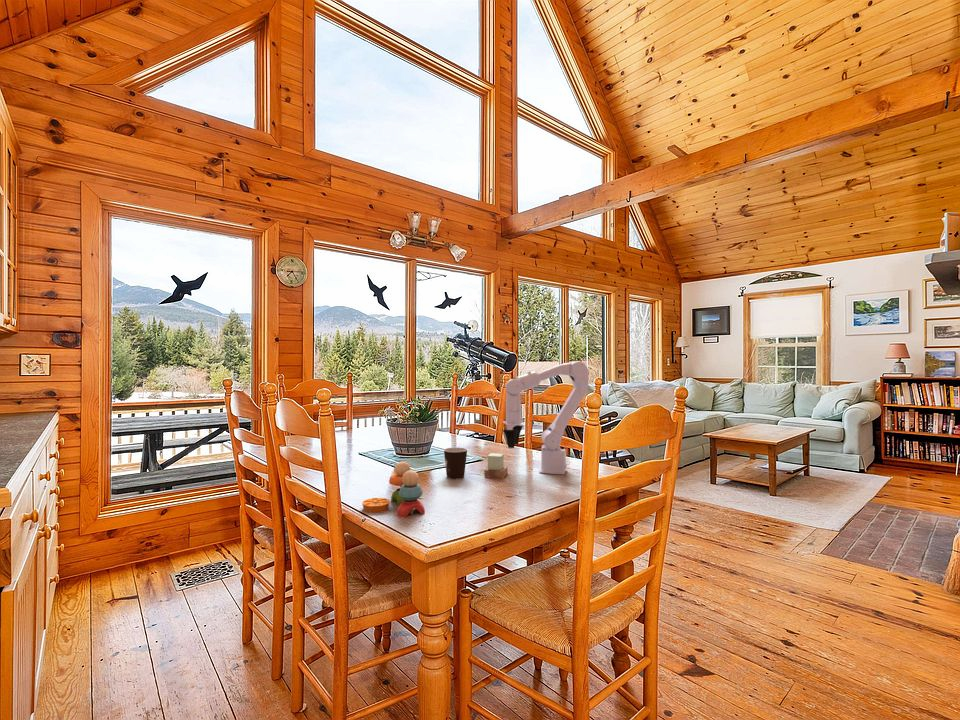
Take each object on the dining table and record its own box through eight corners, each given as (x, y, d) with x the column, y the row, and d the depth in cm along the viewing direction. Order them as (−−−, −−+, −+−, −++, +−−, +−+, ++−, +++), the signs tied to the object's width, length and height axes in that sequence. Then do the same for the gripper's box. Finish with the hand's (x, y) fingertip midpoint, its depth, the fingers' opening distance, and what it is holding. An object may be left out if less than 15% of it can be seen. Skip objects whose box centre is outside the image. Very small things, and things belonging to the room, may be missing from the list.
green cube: (503, 467, 183) (503, 453, 183) (500, 470, 178) (501, 456, 178) (490, 466, 184) (490, 453, 184) (487, 469, 180) (487, 455, 179)
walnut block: (507, 474, 183) (507, 466, 183) (502, 479, 177) (502, 471, 177) (489, 473, 186) (489, 465, 185) (484, 477, 179) (484, 469, 179)
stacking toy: (356, 507, 144) (356, 465, 144) (407, 496, 155) (408, 457, 154) (382, 524, 130) (382, 478, 130) (437, 512, 140) (437, 469, 140)
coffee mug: (464, 480, 174) (464, 452, 173) (441, 479, 175) (441, 451, 175) (470, 472, 185) (470, 446, 185) (448, 471, 186) (448, 445, 186)
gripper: (506, 408, 194) (506, 441, 194) (498, 412, 180) (498, 448, 180) (524, 408, 192) (524, 442, 193) (517, 413, 178) (517, 450, 179)
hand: (513, 445), depth 186 cm, fingers open, 7 cm apart
